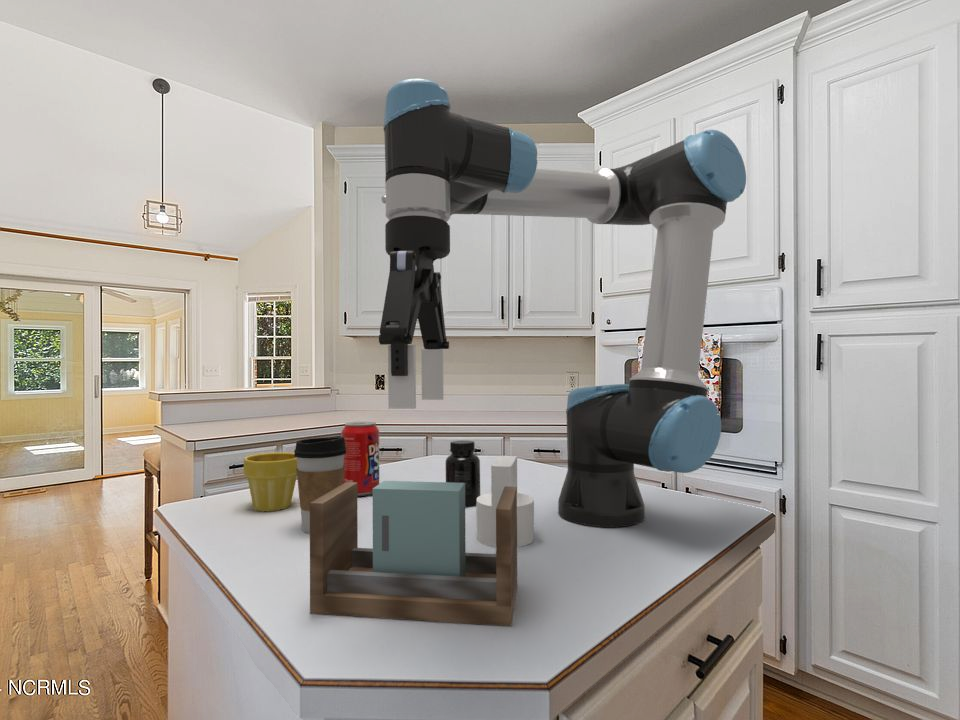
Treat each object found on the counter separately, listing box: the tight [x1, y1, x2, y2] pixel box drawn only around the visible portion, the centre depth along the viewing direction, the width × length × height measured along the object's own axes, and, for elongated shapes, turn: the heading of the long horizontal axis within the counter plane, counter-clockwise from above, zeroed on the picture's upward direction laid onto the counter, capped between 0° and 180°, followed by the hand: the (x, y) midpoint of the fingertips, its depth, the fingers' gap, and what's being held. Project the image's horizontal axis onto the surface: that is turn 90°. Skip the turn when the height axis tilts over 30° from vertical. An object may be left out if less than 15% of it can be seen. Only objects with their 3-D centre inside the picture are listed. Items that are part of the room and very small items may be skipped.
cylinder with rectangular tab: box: [476, 455, 535, 548], centre depth 79 cm, size 9×9×12 cm
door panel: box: [372, 480, 467, 577], centre depth 59 cm, size 10×4×11 cm, turn 82°
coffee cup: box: [293, 436, 347, 534], centre depth 85 cm, size 8×8×15 cm
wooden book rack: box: [309, 482, 518, 627], centre depth 59 cm, size 22×10×12 cm, turn 82°
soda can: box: [340, 421, 380, 498], centre depth 108 cm, size 8×8×15 cm
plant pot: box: [243, 451, 298, 512], centre depth 98 cm, size 10×10×10 cm
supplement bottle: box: [445, 440, 481, 508], centre depth 100 cm, size 7×7×12 cm
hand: (419, 403), depth 59 cm, fingers open, 13 cm apart
